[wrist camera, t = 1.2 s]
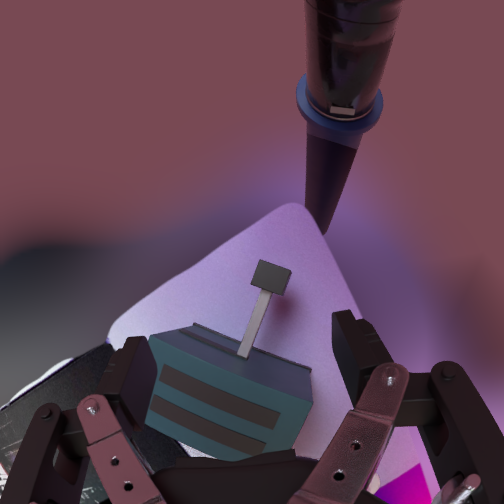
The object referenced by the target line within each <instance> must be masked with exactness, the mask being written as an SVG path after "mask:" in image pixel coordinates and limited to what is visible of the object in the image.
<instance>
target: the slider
mask: <svg viewBox="0 0 504 504" xmlns="http://www.w3.org/2000/svg"><path fill="white" fill-rule="evenodd" d="M291 274H292V273H291V270H289V269H286V268H283V267H280V266H277V265H275V264H272V263H269V262H266V261H263V260H261V259H260V260H259V262H258V265H257V268H256V271H255V273H254V276H253V279H252V281H251V285H254V286H256V287H259V288H262V290H261V292H260V295H259V298H258V300H257V303H256V306H255V308H254V311H253V313H252V316H251V319H250V321H249V324H248V327H247V329H246V332H245V334H244V337H243V340H242V342H241V345H240V347H239V350H238V353H237V354H238V355H240V356H243V357H245V358H247V357H248V356H249V353H250V351H251V348H252V346H253V343H254V341H255V338H256V336H257V333H258V330H259V328H260V325H261V323H262V320H263V317H264V315H265V312H266V309H267V307H268V304H269V302H270V299H271V296H272V294H273V293H275V294H278V295H281V296H284V293H285V290H286V288H287V285H288V282H289V279H290V277H291Z"/></svg>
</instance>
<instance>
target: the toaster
mask: <svg viewBox="0 0 504 504" xmlns="http://www.w3.org/2000/svg"><path fill="white" fill-rule="evenodd" d="M148 343H149V346H150V348H151V351H152V353H153V356H154V358H155V360H156V363H157V369H158V373H157V378H156V382H155V385H154V389H153V393H152V396H151V400H150V404H149V408H148V412H147V416H146V419H145V424H147V425H149V426H150V427H152V428H154V429H156V430H158V431H160V432H162V433H164V434H166V435H167V436H169V437H171V438H173V439H175V440H177V441H180V442H182V443H184V444H186V445H188V446H190V447H192V448H194V449H196V450H199V451H201V452H203V453H205V454H208V455H210V456H212V457H215V458H217V459H220V460H225V461H232V462H233V461H239V460H242V459H246V458H249V457H252V456H256V455H259V454H262V453H266V452H274V451H282V450H289V449H291V448H292V446H293V444H294V442H295V440H296V438H297V436H298V434H299V432H300V430H301V428H302V426H303V424H304V422H305V420H306V417H307V415H308V413H309V411H310V409H311V407H312V405H313V397H312V388H311V380H310V372H311V370H312V369H311V368H310V367H307V366H304V365H301V364H298V363H296V362H293V361H290V360H287V359H285V358H282V357H279V356H276V355H274V354H271V353H268V352H266V351H263V350H261V349H258V348H255V347H253V346H252V348H251V351H250V353H249V356H248V357H247V358H245V357H243V356H240V355H238V354H237V353H238V350H239V347H240V345H241V342H240V341H238V340H235V339H233V338H230V337H228V336H226V335H223V334H221V333H218V332H216V331H214V330H211V329H209V328H207V327H204V326H202V325H200V324H197V323H193V326H189V327H185V328H180V329H176V330H171V331H167V332H162V333H158V334H153V335H150V337H149V340H148Z"/></svg>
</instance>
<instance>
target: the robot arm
mask: <svg viewBox="0 0 504 504" xmlns="http://www.w3.org/2000/svg"><path fill="white" fill-rule="evenodd" d="M403 1H404V0H304V12H305V36H306V98H307V101H308V103H309V105H310V106H311V107H312V108H313V110H314V111H316V112H317V113H318V114H319V115H321V116H323V117H324V118H327V119H329V120H332V121H336V122H343V123H348V122H355V121H358V120H361V119H363V118H365V117H366V116H367V115H368V114H369V113H370V112H371V110H372V109H373V106H374V103H375V98H376V94H377V91H378V88H379V85H380V82H381V79H382V75H383V72H384V69H385V65H386V62H387V58H388V55H389V52H390V48H391V45H392V41H393V37H394V34H395V29H396V26H397V22H398V18H399V14H400V11H401V7H402V3H403ZM332 348H333V353H334V356H335V359H336V361H337V364H338V367H339V369H340V372H341V375H342V377H343V380H344V383H345V385H346V388H347V391H348V394H349V396H350V399H351V402H352V405H353V408H354V409H353V410H349V411H348V413H347V415H346V416H345V418H344V420H343V422H342V423H341V425H340V427H339V429H338V430H337V432H336V434H335V435H334V437H333V439H332V440H331V442H330V444H329V445H328V447H327V449H326V450H325V452H324V454H323V455H322V457H321V458H320V460H319V461H318V460H316V459H312V458H308V457H300V456H296V455H295V449H289V450H282V451H274V452H266V453H262V454H259V455H256V456H252V457H249V458H246V459H242V460H239V461H233V462H232V461H225V460H219V459H213V458H208V457H176V463H175V465H172V466H169V467H166V468H163V469H161V470H159V471H157V472H154V471H153V470H152V468H151V467H150V465H149V464H148V462H147V461H146V459H145V458H144V456H143V454H142V453H141V451H140V450H139V448H138V446H137V445H136V443H135V441H134V440H133V438H132V437H131V436H132V432H133V431H143V427H144V423H145V419H146V416H147V412H148V408H149V404H150V400H151V396H152V393H153V389H154V385H155V382H156V378H157V373H158V369H157V363H156V360H155V358H154V356H153V353H152V351H151V348H150V346H149V343H148V341H147V339H146V337H145V336H136V337H128V338H127V339H126V342H125V344H124V346H123V348H120V349H118V350H117V351H116V352H115V353H114V354H113V355H112V356H111V358H110V360H109V363H108V366H107V367H106V369H105V372H104V373H103V376H102V378H101V380H100V382H99V385H98V387H97V389H96V391H95V394H92V395H89V396H87V397H85V398H83V399H82V400H81V401H80V402H79V404H78V406H77V408H76V409H71V410H66V411H62V410H61V409H60V407H59V406H58V405H57V404H55V403H47V404H44V405H42V406H41V407H39V408H38V409H37V411H36V412H35V414H34V416H33V418H32V421H31V423H30V425H29V427H28V429H27V432H26V434H25V436H24V439H23V441H22V443H21V446H20V448H19V450H18V453H17V455H16V458H15V460H14V463H13V465H12V468H11V471H10V473H9V476H8V479H7V481H6V484H5V487H4V490H3V493H2V496H1V499H0V504H79V503H80V498H81V494H82V489H83V485H84V481H85V477H86V472H87V469H88V465H89V461H90V458H91V460H92V462H93V465H94V467H95V469H96V471H97V474H98V476H99V478H100V480H101V482H102V484H103V486H104V488H105V490H106V492H107V494H108V496H109V498H110V500H111V502H112V504H388V503H386V502H385V501H383V500H381V499H380V498H378V497H376V496H375V495H373V494H371V493H370V492H368V491H367V489H368V487H369V485H370V483H371V481H372V479H373V477H374V475H375V472H376V470H377V468H378V465H379V463H380V461H381V459H382V457H383V454H384V452H385V450H386V447H387V445H388V443H389V440H390V438H391V436H392V433H393V431H394V428H395V427H403V426H417V428H418V430H419V433H420V435H421V438H422V441H423V443H424V446H425V448H426V451H427V454H428V456H429V459H430V462H431V464H432V467H433V470H434V472H435V475H436V478H437V481H438V484H439V486H440V491H439V492H438V494H437V495H436V496H435V497H434V499H433V501H432V503H431V504H504V436H503V434H502V432H501V430H500V429H499V427H498V425H497V423H496V422H495V420H494V418H493V416H492V414H491V413H490V411H489V409H488V408H487V406H486V404H485V403H484V401H483V399H482V398H481V396H480V394H479V393H478V391H477V389H476V388H475V386H474V385H473V383H472V382H471V380H470V378H469V377H468V375H467V374H466V372H465V371H464V369H463V368H462V367H461V366H460V365H459V364H457V363H455V362H452V361H442V362H439V363H437V364H435V365H434V366H433V368H432V370H431V373H410V372H408V371H407V369H406V368H405V367H403V366H402V365H400V364H397V363H394V361H393V359H392V358H391V356H390V354H389V352H388V351H387V349H386V347H385V346H384V344H383V342H382V341H381V340H380V337H379V335H378V334H377V332H376V330H375V329H374V327H373V326H372V324H370V323H369V322H367V321H366V320H365V319H358V320H356V319H355V317H354V316H353V314H352V312H351V310H350V309H348V310H343V311H338V312H333V313H332ZM56 449H58V450H59V454H58V457H57V460H56V463H55V466H54V467H53V458H54V455H55V452H56Z"/></svg>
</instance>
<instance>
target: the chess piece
mask: <svg viewBox="0 0 504 504" xmlns="http://www.w3.org/2000/svg"><path fill="white" fill-rule="evenodd" d="M379 486H380V478H379V475H378V474H377V473H376V472H375V475H374V477H373V479H372V481H371V483H370V485H369V487H368V489H367V491H368V492H370V493H371V494H374V493H375V492H376V491H377V490H378V489H379Z"/></svg>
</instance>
